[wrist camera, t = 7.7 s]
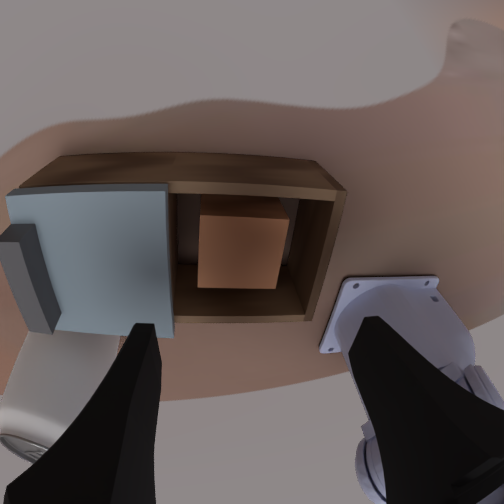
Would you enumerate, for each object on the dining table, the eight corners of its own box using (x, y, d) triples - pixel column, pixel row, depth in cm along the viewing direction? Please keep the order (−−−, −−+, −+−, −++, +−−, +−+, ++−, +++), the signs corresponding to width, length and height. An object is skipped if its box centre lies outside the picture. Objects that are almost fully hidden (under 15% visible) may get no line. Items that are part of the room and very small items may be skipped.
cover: (168, 183, 11) (159, 209, 9) (174, 326, 15) (172, 361, 13) (14, 188, 10) (-14, 212, 8) (51, 318, 14) (38, 349, 12)
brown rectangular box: (315, 161, 16) (347, 191, 13) (293, 272, 21) (311, 320, 17) (59, 156, 14) (19, 186, 10) (78, 267, 18) (54, 315, 14)
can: (140, 319, 21) (120, 477, 11) (94, 351, 23) (69, 481, 13) (72, 263, 18) (5, 423, 8) (34, 306, 20) (-18, 437, 9)
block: (273, 187, 17) (289, 219, 14) (263, 247, 19) (275, 288, 16) (201, 183, 17) (200, 215, 13) (198, 245, 19) (197, 287, 15)
